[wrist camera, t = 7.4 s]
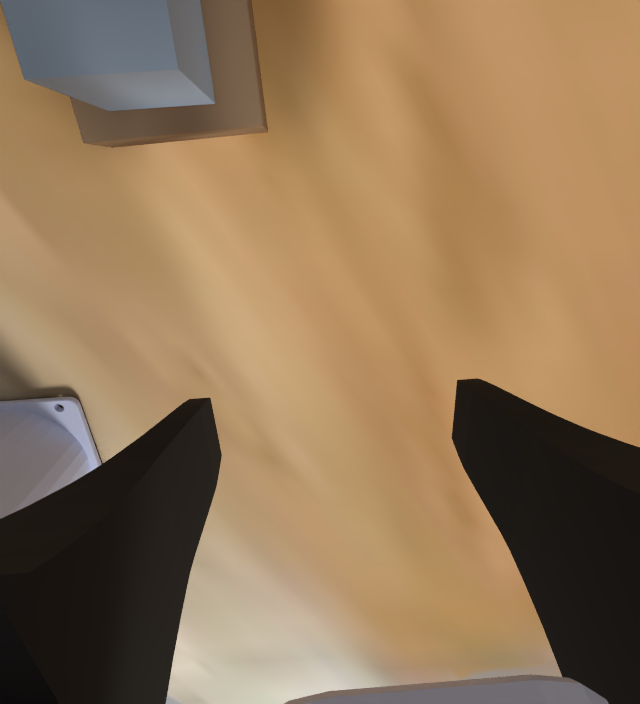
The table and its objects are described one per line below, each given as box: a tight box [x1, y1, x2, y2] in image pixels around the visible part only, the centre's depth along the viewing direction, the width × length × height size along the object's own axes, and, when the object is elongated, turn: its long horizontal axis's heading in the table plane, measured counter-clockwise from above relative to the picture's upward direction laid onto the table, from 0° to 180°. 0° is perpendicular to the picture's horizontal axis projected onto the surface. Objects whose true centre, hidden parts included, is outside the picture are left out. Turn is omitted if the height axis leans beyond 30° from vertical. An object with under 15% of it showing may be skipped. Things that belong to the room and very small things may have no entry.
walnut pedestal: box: [70, 0, 268, 148], centre depth 15 cm, size 7×7×3 cm
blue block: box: [0, 0, 215, 111], centre depth 12 cm, size 4×4×5 cm
